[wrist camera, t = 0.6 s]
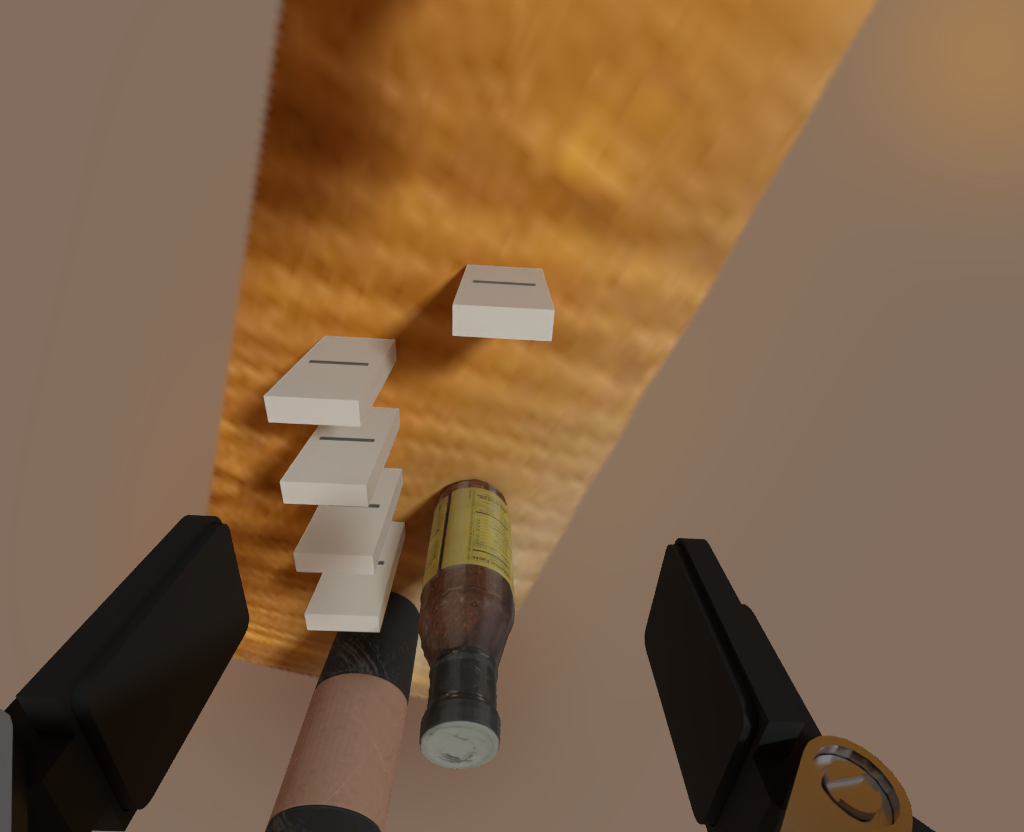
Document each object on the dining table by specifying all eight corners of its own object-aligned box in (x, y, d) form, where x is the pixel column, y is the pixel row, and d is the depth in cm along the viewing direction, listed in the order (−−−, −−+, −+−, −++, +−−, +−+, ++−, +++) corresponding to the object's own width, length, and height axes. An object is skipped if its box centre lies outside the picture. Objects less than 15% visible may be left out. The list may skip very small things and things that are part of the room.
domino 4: (346, 518, 43) (304, 613, 34) (404, 521, 43) (378, 615, 34) (348, 533, 44) (307, 630, 35) (405, 536, 44) (379, 632, 35)
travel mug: (334, 630, 49) (238, 896, 32) (356, 578, 46) (262, 841, 29) (408, 651, 51) (355, 916, 33) (434, 602, 48) (391, 866, 30)
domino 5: (467, 263, 33) (452, 303, 24) (542, 267, 33) (554, 308, 25) (466, 288, 34) (452, 335, 25) (540, 292, 34) (551, 341, 25)
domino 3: (339, 465, 41) (292, 552, 32) (402, 467, 41) (372, 555, 32) (341, 482, 41) (296, 571, 32) (402, 484, 41) (374, 574, 33)
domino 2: (332, 404, 38) (279, 480, 29) (398, 407, 38) (365, 484, 29) (334, 423, 39) (283, 503, 30) (399, 426, 39) (368, 506, 30)
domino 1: (324, 334, 35) (263, 394, 27) (395, 338, 36) (358, 399, 27) (326, 356, 36) (268, 422, 27) (396, 360, 36) (360, 426, 28)
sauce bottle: (462, 544, 44) (433, 799, 27) (421, 494, 42) (359, 741, 24) (526, 513, 43) (540, 763, 25) (488, 461, 40) (473, 697, 23)
